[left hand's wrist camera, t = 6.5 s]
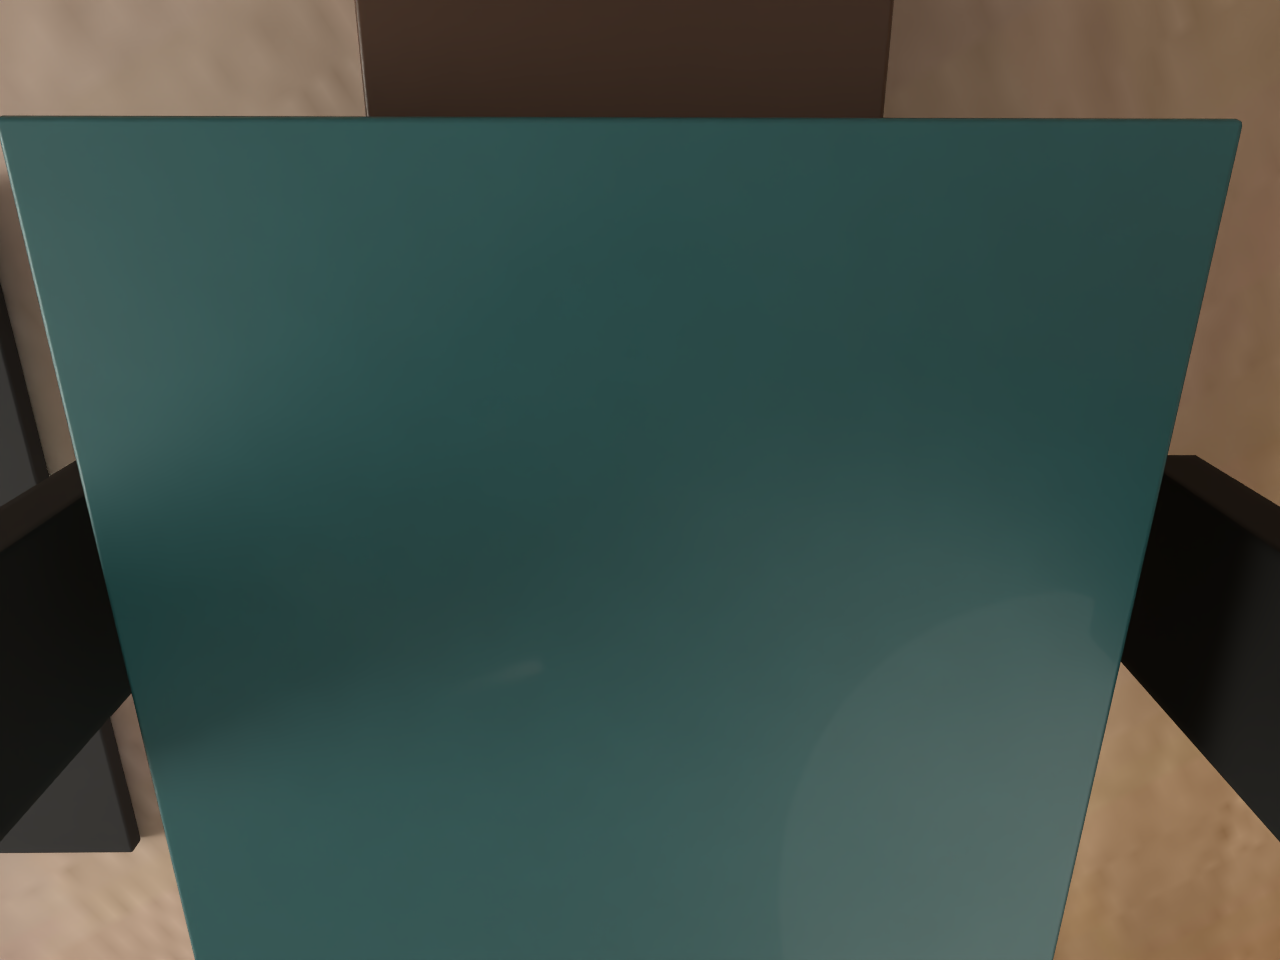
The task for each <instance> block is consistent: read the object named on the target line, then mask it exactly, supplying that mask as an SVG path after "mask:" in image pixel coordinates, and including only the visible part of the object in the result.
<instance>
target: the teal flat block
mask: <svg viewBox="0 0 1280 960" xmlns="http://www.w3.org/2000/svg"><path fill="white" fill-rule="evenodd" d="M1241 129H1242V122H1241V121H1239V120H1237V119H1099V118H718V117H336V116H1V117H0V142H1V146H2V150H3V154H4V158H5V163H6V167H7V171H8V175H9V179H10V184H11V188H12V192H13V196H14V200H15V205H16V209H17V213H18V217H19V221H20V226H21V230H22V234H23V238H24V242H25V247H26V251H27V255H28V259H29V263H30V268H31V272H32V276H33V280H34V284H35V289H36V293H37V297H38V301H39V306H40V310H41V314H42V318H43V322H44V327H45V331H46V335H47V339H48V343H49V348H50V352H51V356H52V360H53V364H54V369H55V373H56V377H57V381H58V385H59V390H60V394H61V398H62V402H63V406H64V411H65V415H66V419H67V423H68V427H69V432H70V436H71V440H72V444H73V448H74V453H75V457H76V461H77V465H78V469H79V474H80V478H81V482H82V486H83V491H84V495H85V499H86V503H87V507H88V512H89V516H90V520H91V524H92V528H93V533H94V537H95V541H96V545H97V549H98V554H99V558H100V562H101V566H102V570H103V575H104V579H105V583H106V587H107V591H108V596H109V600H110V604H111V608H112V612H113V617H114V621H115V625H116V629H117V633H118V638H119V642H120V646H121V650H122V654H123V659H124V663H125V667H126V671H127V676H128V680H129V684H130V688H131V692H132V697H133V701H134V705H135V709H136V713H137V718H138V722H139V726H140V730H141V734H142V739H143V743H144V747H145V751H146V755H147V760H148V764H149V768H150V772H151V776H152V781H153V785H154V789H155V793H156V797H157V802H158V806H159V810H160V814H161V818H162V823H163V827H164V831H165V835H166V839H167V844H168V848H169V852H170V856H171V861H172V865H173V869H174V873H175V877H176V882H177V886H178V890H179V894H180V898H181V903H182V907H183V911H184V915H185V919H186V924H187V928H188V932H189V936H190V940H191V945H192V949H193V953H194V957H195V960H1053V957H1054V953H1055V949H1056V944H1057V940H1058V935H1059V931H1060V926H1061V922H1062V918H1063V913H1064V909H1065V904H1066V900H1067V896H1068V891H1069V887H1070V882H1071V878H1072V874H1073V869H1074V865H1075V860H1076V856H1077V852H1078V847H1079V843H1080V838H1081V834H1082V830H1083V825H1084V821H1085V816H1086V812H1087V807H1088V803H1089V799H1090V794H1091V790H1092V785H1093V781H1094V777H1095V772H1096V768H1097V763H1098V759H1099V755H1100V750H1101V746H1102V741H1103V737H1104V733H1105V728H1106V724H1107V719H1108V715H1109V711H1110V706H1111V702H1112V697H1113V693H1114V688H1115V684H1116V680H1117V675H1118V671H1119V666H1120V662H1121V658H1122V653H1123V649H1124V644H1125V640H1126V636H1127V631H1128V627H1129V622H1130V618H1131V614H1132V609H1133V605H1134V600H1135V596H1136V592H1137V587H1138V583H1139V578H1140V574H1141V569H1142V565H1143V561H1144V556H1145V552H1146V547H1147V543H1148V539H1149V534H1150V530H1151V525H1152V521H1153V517H1154V512H1155V508H1156V503H1157V499H1158V495H1159V490H1160V486H1161V481H1162V477H1163V473H1164V468H1165V464H1166V459H1167V455H1168V450H1169V446H1170V442H1171V437H1172V433H1173V428H1174V424H1175V420H1176V415H1177V411H1178V406H1179V402H1180V398H1181V393H1182V389H1183V384H1184V380H1185V376H1186V371H1187V367H1188V362H1189V358H1190V354H1191V349H1192V345H1193V340H1194V336H1195V331H1196V327H1197V323H1198V318H1199V314H1200V309H1201V305H1202V301H1203V296H1204V292H1205V287H1206V283H1207V279H1208V274H1209V270H1210V265H1211V261H1212V257H1213V252H1214V248H1215V243H1216V239H1217V235H1218V230H1219V226H1220V221H1221V217H1222V212H1223V208H1224V204H1225V199H1226V195H1227V190H1228V186H1229V182H1230V177H1231V173H1232V168H1233V164H1234V160H1235V155H1236V151H1237V146H1238V142H1239V138H1240V133H1241Z"/></svg>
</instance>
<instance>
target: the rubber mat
mask: <svg viewBox="0 0 1280 960" xmlns="http://www.w3.org/2000/svg"><path fill="white" fill-rule="evenodd" d="M48 477H49V475H48V471H47V467H46V463H45V459H44V455H43V451H42V447H41V443H40V440H39V436H38V432H37V428H36V424H35V420H34V416H33V412H32V408H31V404H30V400H29V396H28V392H27V388H26V384H25V380H24V376H23V372H22V368H21V364H20V360H19V356H18V352H17V348H16V345H15V341H14V337H13V333H12V329H11V325H10V321H9V317H8V313H7V309H6V305H5V301H4V297H3V293H2V289H1V285H0V507H1V506H2V505H4V504H5V503H7V502H9V501H10V500H12V499H14V498H15V497H17V496H19V495H20V494H22V493H23V492H25V491H27V490H28V489H30V488H32V487H33V486H35V485H37V484H38V483H40V482H41V481H43V480H45V479H46V478H48ZM139 841H140V835H139V831H138V827H137V823H136V820H135V816H134V812H133V808H132V804H131V800H130V796H129V792H128V788H127V784H126V780H125V776H124V772H123V768H122V764H121V760H120V756H119V752H118V748H117V744H116V740H115V736H114V732H113V728H112V725H111V721H110V718H109V719H108V720H107V721H106V722H105V724H104V725H103V726H102V727H101V728H100V729H99V730H98V731H97V733H96V734H95V735H94V736H93V737H92V738H91V739H90V741H89V742H88V743H87V744H86V745H85V746H84V747H83V748H82V750H81V751H80V752H79V753H78V754H77V755H76V756H75V758H74V759H73V760H72V761H71V762H70V763H69V764H68V766H67V767H66V768H65V769H64V770H63V771H62V772H61V773H60V775H59V776H58V777H57V778H56V779H55V780H54V781H53V783H52V784H51V785H50V786H49V787H48V788H47V789H46V790H45V792H44V793H43V794H42V795H41V796H40V797H39V798H38V800H37V801H36V802H35V803H34V804H33V805H32V806H31V807H30V809H29V810H28V811H27V812H26V813H25V814H24V815H23V817H22V818H21V819H20V820H19V821H18V822H17V823H16V825H15V826H14V827H13V828H12V829H11V830H10V831H9V832H8V834H7V835H6V836H5V837H4V838H3V839H2V840H1V842H0V853H66V852H132V851H133V850H134V849H135V847H136V846H137V844H138V843H139Z"/></svg>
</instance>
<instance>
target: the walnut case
mask: <svg viewBox="0 0 1280 960" xmlns="http://www.w3.org/2000/svg"><path fill="white" fill-rule="evenodd" d="M354 1H355V11H356V21H357V31H358V41H359V51H360V61H361V71H362V81H363V91H364V101H365V111H366V117H718V118H883V113H884V102H885V91H886V80H887V70H888V59H889V48H890V37H891V26H892V16H893V5H894V0H354Z"/></svg>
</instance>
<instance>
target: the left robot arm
mask: <svg viewBox="0 0 1280 960" xmlns="http://www.w3.org/2000/svg"><path fill="white" fill-rule="evenodd" d="M1121 662H1122V663H1123V665H1124V666H1125V667H1126V668H1127V669H1128V670H1129V671H1130V672H1131V674H1132V675H1133V676H1134V677H1135V678H1136V679H1137V680H1138V682H1139V683H1140V684H1141V685H1142V686H1143V687H1144V688H1145V689H1146V691H1147V692H1148V693H1149V694H1150V695H1151V696H1152V697H1153V699H1154V700H1155V701H1156V702H1157V703H1158V704H1159V705H1160V707H1161V708H1162V709H1163V710H1164V711H1165V712H1166V713H1167V714H1168V716H1169V717H1170V718H1171V719H1172V720H1173V721H1174V722H1175V724H1176V725H1177V726H1178V727H1179V728H1180V729H1181V730H1182V731H1183V733H1184V734H1185V735H1186V736H1187V737H1188V738H1189V739H1190V741H1191V742H1192V743H1193V744H1194V745H1195V746H1196V747H1197V748H1198V750H1199V751H1200V752H1201V753H1202V754H1203V755H1204V756H1205V758H1206V759H1207V760H1208V761H1209V762H1210V763H1211V764H1212V766H1213V767H1214V768H1215V769H1216V770H1217V771H1218V772H1219V773H1220V775H1221V776H1222V777H1223V778H1224V779H1225V780H1226V781H1227V783H1228V784H1229V785H1230V786H1231V787H1232V788H1233V789H1234V790H1235V792H1236V793H1237V794H1238V795H1239V796H1240V797H1241V798H1242V800H1243V801H1244V802H1245V803H1246V804H1247V805H1248V806H1249V807H1250V809H1251V810H1252V811H1253V812H1254V813H1255V814H1256V815H1257V817H1258V818H1259V819H1260V820H1261V821H1262V822H1263V823H1264V825H1265V826H1266V827H1267V828H1268V829H1269V830H1270V831H1271V832H1272V834H1273V835H1274V836H1275V837H1276V838H1277V839H1278V840H1279V842H1280V507H1279V506H1278V505H1276V504H1275V503H1273V502H1271V501H1270V500H1268V499H1266V498H1265V497H1263V496H1261V495H1260V494H1258V493H1257V492H1255V491H1253V490H1252V489H1250V488H1248V487H1247V486H1245V485H1243V484H1242V483H1240V482H1239V481H1237V480H1235V479H1234V478H1232V477H1230V476H1229V475H1227V474H1225V473H1224V472H1222V471H1220V470H1219V469H1217V468H1216V467H1214V466H1212V465H1211V464H1209V463H1207V462H1206V461H1204V460H1202V459H1201V458H1199V457H1198V456H1196V455H1167V459H1166V464H1165V468H1164V473H1163V477H1162V481H1161V486H1160V490H1159V495H1158V499H1157V503H1156V508H1155V512H1154V517H1153V521H1152V525H1151V530H1150V534H1149V539H1148V543H1147V547H1146V552H1145V556H1144V561H1143V565H1142V569H1141V574H1140V578H1139V583H1138V587H1137V592H1136V596H1135V600H1134V605H1133V609H1132V614H1131V618H1130V622H1129V627H1128V631H1127V636H1126V640H1125V644H1124V649H1123V653H1122V658H1121ZM131 693H132V692H131V688H130V684H129V680H128V676H127V671H126V667H125V663H124V659H123V654H122V650H121V646H120V642H119V638H118V633H117V629H116V625H115V621H114V617H113V612H112V608H111V604H110V600H109V596H108V591H107V587H106V583H105V579H104V575H103V570H102V566H101V562H100V558H99V554H98V549H97V545H96V541H95V537H94V533H93V528H92V524H91V520H90V516H89V512H88V507H87V503H86V499H85V495H84V491H83V486H82V482H81V478H80V474H79V469H78V465H77V461H74V462H73V463H71V464H69V465H68V466H66V467H64V468H63V469H61V470H60V471H58V472H56V473H55V474H53V475H51V476H50V477H48V478H46V479H45V480H43V481H41V482H40V483H38V484H37V485H35V486H33V487H32V488H30V489H28V490H27V491H25V492H23V493H22V494H20V495H19V496H17V497H15V498H14V499H12V500H10V501H9V502H7V503H5V504H4V505H2V506H1V507H0V842H1V840H2V839H3V838H4V837H5V836H6V835H7V834H8V832H9V831H10V830H11V829H12V828H13V827H14V826H15V825H16V823H17V822H18V821H19V820H20V819H21V818H22V817H23V815H24V814H25V813H26V812H27V811H28V810H29V809H30V807H31V806H32V805H33V804H34V803H35V802H36V801H37V800H38V798H39V797H40V796H41V795H42V794H43V793H44V792H45V790H46V789H47V788H48V787H49V786H50V785H51V784H52V783H53V781H54V780H55V779H56V778H57V777H58V776H59V775H60V773H61V772H62V771H63V770H64V769H65V768H66V767H67V766H68V764H69V763H70V762H71V761H72V760H73V759H74V758H75V756H76V755H77V754H78V753H79V752H80V751H81V750H82V748H83V747H84V746H85V745H86V744H87V743H88V742H89V741H90V739H91V738H92V737H93V736H94V735H95V734H96V733H97V731H98V730H99V729H100V728H101V727H102V726H103V725H104V724H105V722H106V721H107V720H108V719H109V718H110V717H111V716H112V714H113V713H114V712H115V711H116V710H117V709H118V708H119V707H120V705H121V704H122V703H123V702H124V701H125V700H126V699H127V697H128V696H129V695H130V694H131Z"/></svg>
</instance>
